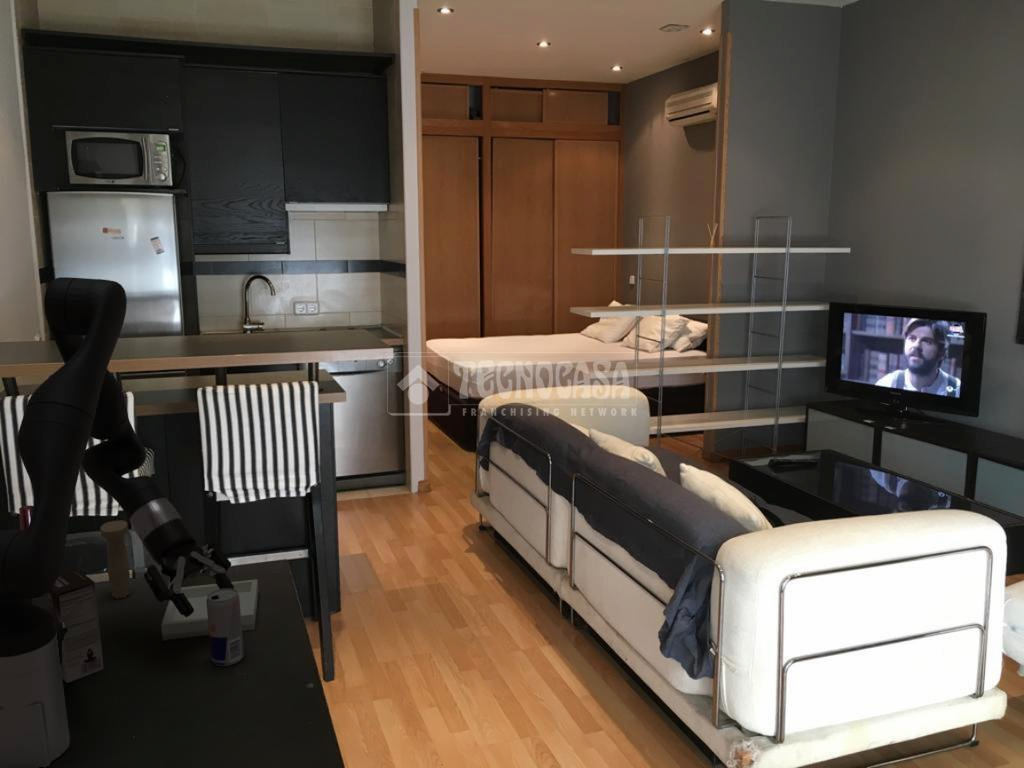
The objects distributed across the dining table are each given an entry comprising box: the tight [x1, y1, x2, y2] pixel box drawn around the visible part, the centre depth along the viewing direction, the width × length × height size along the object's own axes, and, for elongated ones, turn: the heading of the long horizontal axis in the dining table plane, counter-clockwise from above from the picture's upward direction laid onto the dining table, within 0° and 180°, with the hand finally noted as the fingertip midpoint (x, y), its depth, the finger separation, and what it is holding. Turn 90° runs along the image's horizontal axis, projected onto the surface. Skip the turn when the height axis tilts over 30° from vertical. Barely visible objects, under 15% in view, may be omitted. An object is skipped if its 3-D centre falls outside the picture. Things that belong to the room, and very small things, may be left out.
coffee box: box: [47, 566, 105, 684], centre depth 142 cm, size 9×6×16 cm
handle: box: [99, 519, 131, 600], centre depth 169 cm, size 5×6×15 cm
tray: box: [160, 578, 259, 641], centre depth 161 cm, size 16×16×3 cm
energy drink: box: [206, 588, 245, 667], centre depth 144 cm, size 5×5×12 cm
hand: (211, 604), depth 145 cm, fingers open, 8 cm apart
